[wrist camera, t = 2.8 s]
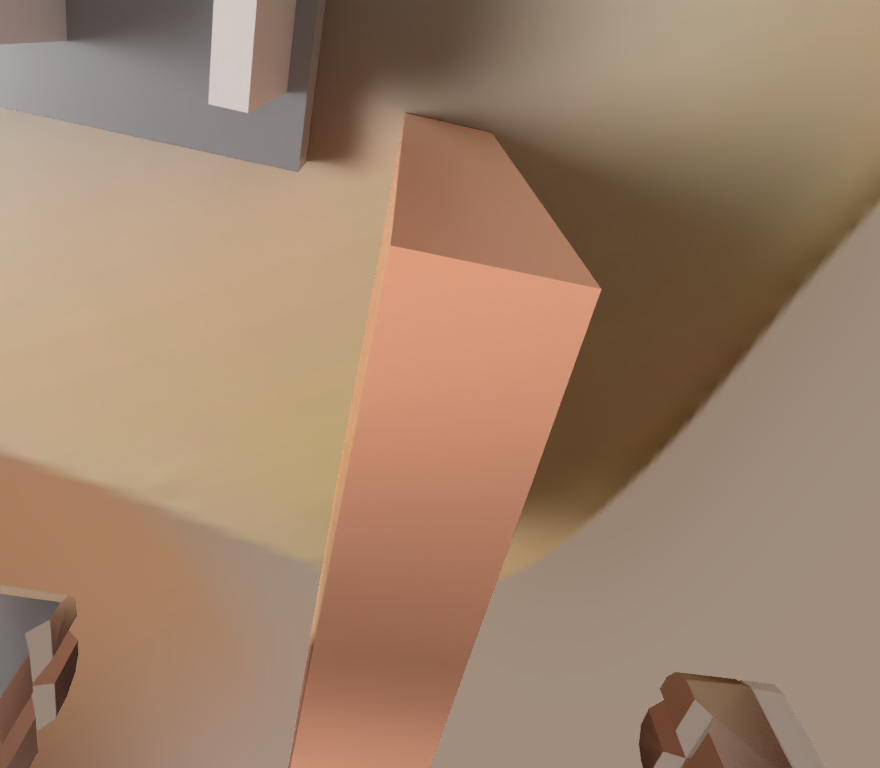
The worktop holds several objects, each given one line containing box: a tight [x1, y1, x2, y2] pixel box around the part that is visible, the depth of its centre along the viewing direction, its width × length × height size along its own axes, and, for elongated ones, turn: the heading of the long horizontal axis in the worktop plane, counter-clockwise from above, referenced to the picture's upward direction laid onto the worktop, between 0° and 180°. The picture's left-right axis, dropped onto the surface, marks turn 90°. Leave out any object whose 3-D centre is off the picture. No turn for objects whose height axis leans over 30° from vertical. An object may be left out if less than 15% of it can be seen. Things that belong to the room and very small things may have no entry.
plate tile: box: [288, 113, 601, 768], centre depth 13 cm, size 11×2×10 cm, turn 167°
